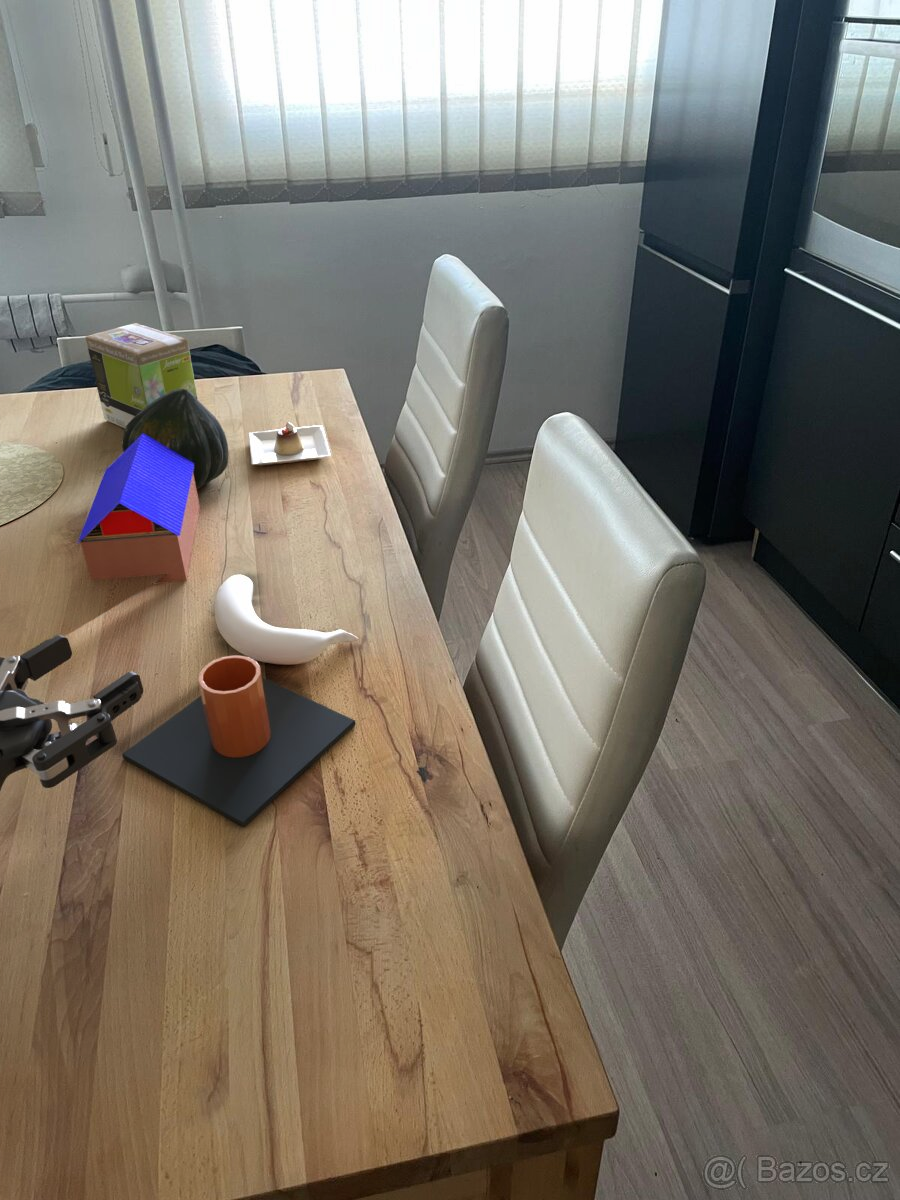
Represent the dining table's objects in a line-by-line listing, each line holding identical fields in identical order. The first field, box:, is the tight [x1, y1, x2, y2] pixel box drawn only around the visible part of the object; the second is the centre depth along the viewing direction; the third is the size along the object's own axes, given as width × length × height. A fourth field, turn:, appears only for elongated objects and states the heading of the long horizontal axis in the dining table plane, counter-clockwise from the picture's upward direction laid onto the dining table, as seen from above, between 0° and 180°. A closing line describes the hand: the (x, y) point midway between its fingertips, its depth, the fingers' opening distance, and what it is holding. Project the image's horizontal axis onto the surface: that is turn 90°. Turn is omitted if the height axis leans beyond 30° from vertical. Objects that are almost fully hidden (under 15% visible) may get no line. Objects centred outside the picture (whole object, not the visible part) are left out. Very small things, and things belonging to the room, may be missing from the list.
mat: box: [122, 677, 356, 828], centre depth 90 cm, size 16×16×1 cm
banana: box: [214, 574, 360, 666], centre depth 106 cm, size 5×19×15 cm
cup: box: [197, 654, 271, 758], centre depth 88 cm, size 6×6×8 cm
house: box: [76, 433, 201, 585], centre depth 119 cm, size 12×20×12 cm, turn 8°
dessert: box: [247, 421, 331, 466], centre depth 144 cm, size 12×12×5 cm
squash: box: [121, 388, 230, 490], centre depth 133 cm, size 14×15×15 cm
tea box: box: [85, 322, 199, 429], centre depth 151 cm, size 15×10×15 cm
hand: (101, 662), depth 72 cm, fingers open, 8 cm apart
